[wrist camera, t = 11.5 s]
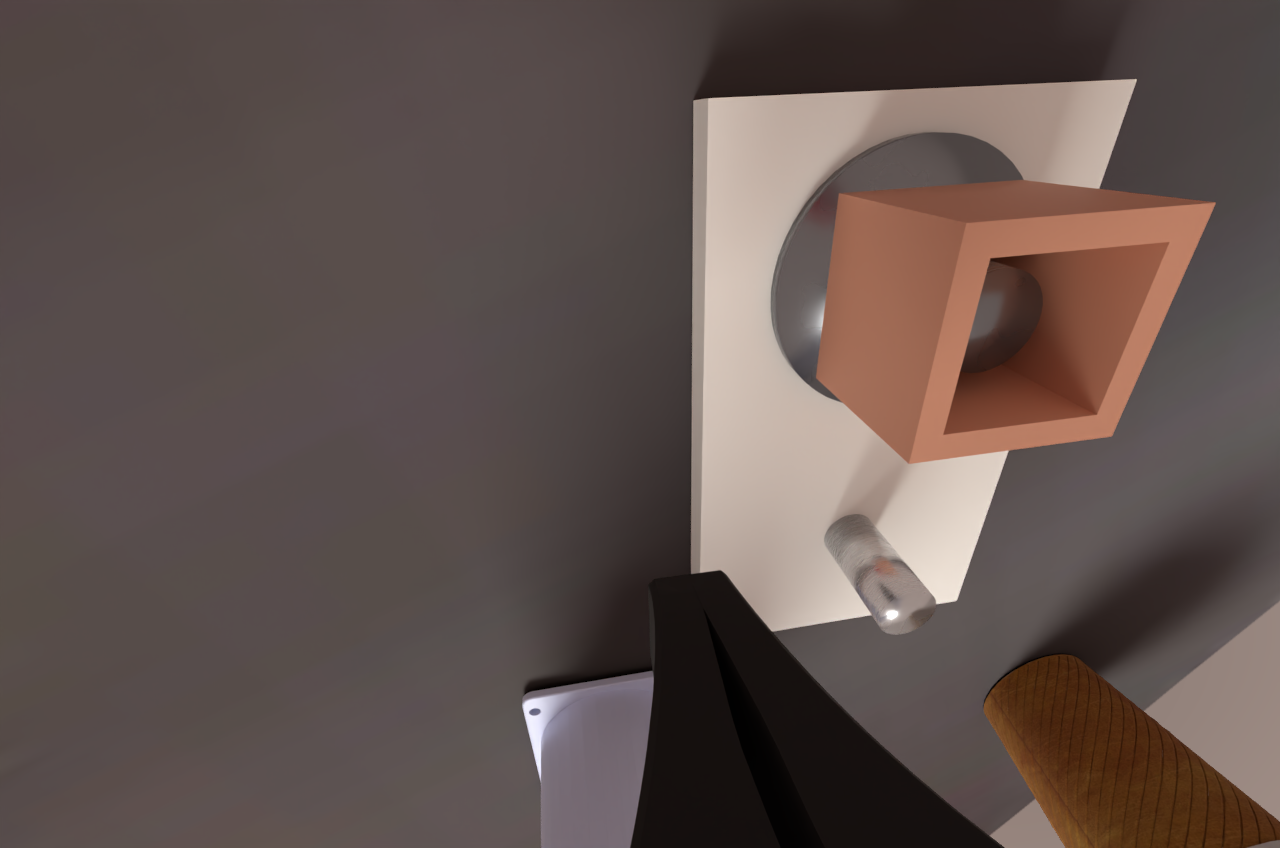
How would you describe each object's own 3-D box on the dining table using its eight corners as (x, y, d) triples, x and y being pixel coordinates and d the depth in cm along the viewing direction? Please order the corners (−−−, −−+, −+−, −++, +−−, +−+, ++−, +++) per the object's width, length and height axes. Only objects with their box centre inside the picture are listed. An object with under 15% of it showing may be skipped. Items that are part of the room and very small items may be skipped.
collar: (1022, 180, 15) (1215, 202, 11) (972, 360, 18) (1111, 436, 13) (838, 193, 14) (966, 223, 10) (815, 378, 17) (908, 463, 13)
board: (935, 576, 26) (956, 600, 25) (690, 616, 24) (699, 643, 23) (1089, 82, 16) (1137, 79, 15) (693, 100, 15) (707, 97, 13)
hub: (981, 386, 19) (1080, 445, 15) (761, 411, 18) (813, 480, 14) (1058, 124, 15) (1214, 124, 12) (782, 140, 14) (861, 145, 11)
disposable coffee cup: (1136, 660, 33) (1413, 910, 22) (1012, 750, 36) (1205, 1006, 25) (1057, 613, 29) (1345, 886, 19) (926, 717, 32) (1111, 1002, 22)
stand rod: (867, 549, 22) (928, 629, 19) (821, 556, 22) (874, 638, 18) (876, 510, 21) (942, 587, 18) (827, 517, 21) (884, 596, 17)
